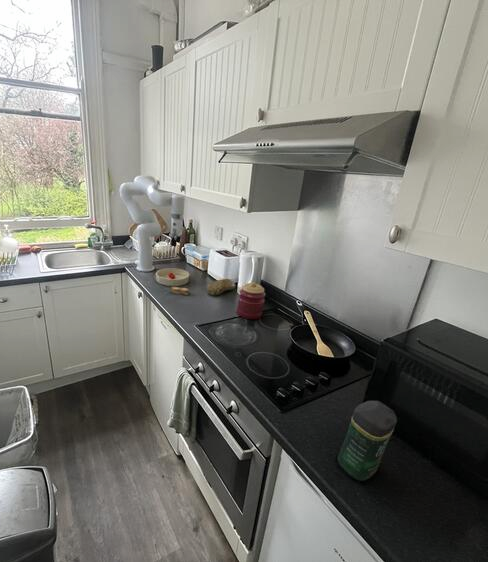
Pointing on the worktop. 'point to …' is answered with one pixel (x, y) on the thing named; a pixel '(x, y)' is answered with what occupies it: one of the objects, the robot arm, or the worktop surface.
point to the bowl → (179, 280)
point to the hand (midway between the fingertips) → (175, 244)
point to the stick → (180, 290)
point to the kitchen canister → (251, 301)
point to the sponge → (220, 286)
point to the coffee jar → (366, 439)
